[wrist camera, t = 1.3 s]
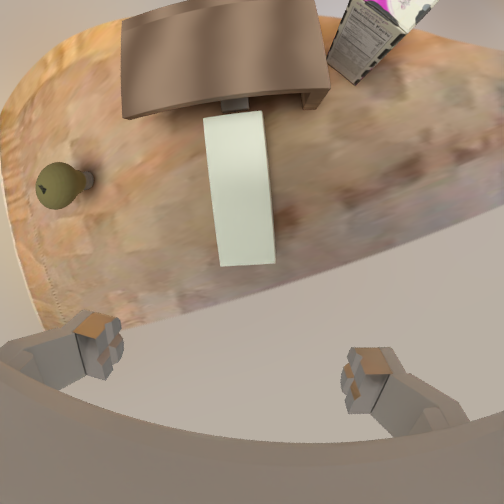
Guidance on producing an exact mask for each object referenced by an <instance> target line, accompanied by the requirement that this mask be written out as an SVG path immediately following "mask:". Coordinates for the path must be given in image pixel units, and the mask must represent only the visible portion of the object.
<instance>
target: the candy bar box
mask: <svg viewBox="0 0 504 504" xmlns="http://www.w3.org/2000/svg"><path fill="white" fill-rule="evenodd" d="M438 1H439V0H349V3H348V6H347V8H346V10H345V13H344V15H343V18H342V20H341V22H340V25H339V28H338V31H337V33H336V36H335V38H334V40H333V43H332V45H331V48H330V50H329V52H328V55H327V57H326V60H327V63H328V64H329V65H330V66H331V67H333V68H334V69H336V70H337V71H339V72H340V73H341V74H342V75H343V76H344V77H346V78H347V79H348V80H349V81H351V82H352V83H353V84H354V85H357V84H358V82H359V81H360V80H361V79H362V78H363V77H365V76H366V75H367V74H368V73H369V71H370V70H371V69H372V68H373V67H374V66H375V65H376V64H377V63H378V62H379V61H380V60H381V59H383V58H384V57H385V56H386V55H387V53H388V52H389V51H390V50H391V49H392V48H393V47H394V46H395V45H396V44H397V43H398V42H399V41H400V40H401V39H402V38H403V37H404V36H405V35H406V34H408V33H409V32H410V31H411V30H412V29H413V28H414V27H415V26H416V25H417V23H418V22H420V20H421V19H422V18H423V17H424V16H425V15H426V14H427V13H428V12H429V11H430V10H431V9H432V8H433V6H435V5H436V3H437V2H438Z"/></svg>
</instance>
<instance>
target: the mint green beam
mask: <svg viewBox="0 0 504 504" xmlns="http://www.w3.org/2000/svg"><path fill="white" fill-rule="evenodd" d="M203 123H204V134H205V144H206V153H207V163H208V172H209V181H210V189H211V198H212V206H213V214H214V222H215V230H216V238H217V245H218V253H219V260H220V267H222V266H239V265H255V264H271V263H276V246H275V233H274V221H273V209H272V197H271V186H270V175H269V164H268V154H267V144H266V134H265V124H264V116H263V113H262V111H252V112H243V113H235V114H227V115H220V116H214V117H207V118H203Z"/></svg>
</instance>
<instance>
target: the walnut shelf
mask: <svg viewBox="0 0 504 504" xmlns="http://www.w3.org/2000/svg"><path fill="white" fill-rule="evenodd" d="M330 89H331V85H330V79H329V72H328V66H327V60H326V54H325V49H324V43H323V38H322V33H321V28H320V23H319V18H318V14H317V10H316V5H315V1H314V0H188V1H184V2H180V3H176V4H172V5H168V6H165V7H162V8H158V9H155V10H152V11H149V12H146V13H143V14H140V15H137V16H134V17H132V18H129V19H126V20H124V21H122V32H121V98H122V117H123V118H124V119H128V120H132V119H135V118H139V117H143V116H147V115H151V114H155V113H159V112H163V111H168V110H172V109H177V108H182V107H187V106H192V105H198V104H203V103H209V102H215V101H221V110H222V112H223V113H228V112H236V111H244V110H250V109H249V99H248V97H253V96H263V95H275V94H289V93H301V98H302V107H303V110H312V109H317V107H318V106H319V104H320V103H321V101H322V100H323V99H324V97H325V96H326V94H327V93H328V91H329V90H330Z"/></svg>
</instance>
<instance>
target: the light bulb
mask: <svg viewBox="0 0 504 504" xmlns="http://www.w3.org/2000/svg"><path fill="white" fill-rule="evenodd" d="M93 181H94V179H93V176H92V174H91V173H90V172H81V171H79V170H75V169H74V168H73V167H72V166H70V165H68V164H66V163H62V162H56V163H52V164H50V165H48V166H46V167H45V168H44V169H43V170H42V171H41V173H40V174H39V176H38V178H37V181H36V194H37V197H38V199H39V201H40V202H41V203H42V204H43V205H44V206H45V207H47V208H49V209H55V210H56V209H62V208H64V207H66V206H68V205H69V204H70V203H71V202H72V201H73V200H74V199H75V198H76V196H77V195H78V194H79V193H81V192H82V191H83V190H87V189H90V188H91V187H92V185H93Z"/></svg>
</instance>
